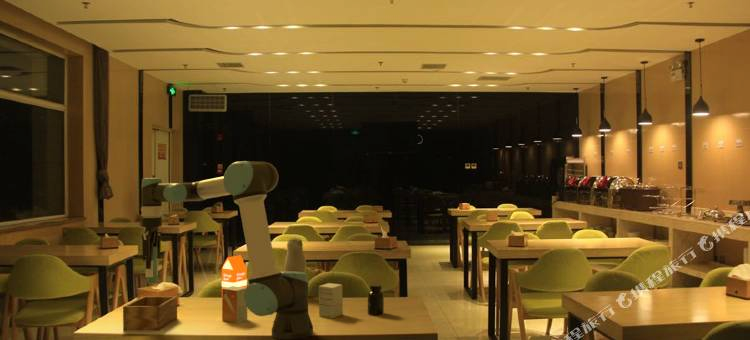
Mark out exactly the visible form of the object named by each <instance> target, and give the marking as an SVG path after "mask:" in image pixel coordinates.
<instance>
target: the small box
mask: <svg viewBox="0 0 750 340" xmlns="http://www.w3.org/2000/svg"><path fill="white" fill-rule="evenodd" d="M245 291H246V288H243V287H235V286H231V287H227V288H223V289H222V288H221V300H222V301H221V302H222V303H221V305H222V306H221V308H222V309H221V310H222V311H221V312H222V313H221V314H222V315H221V318H222V321H226V322H231V323H236V324H238V323H242V322H244V321H247V320H248V307H247V306H246V304H245V300H244V292H245Z"/></svg>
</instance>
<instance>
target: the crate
mask: <svg viewBox="0 0 750 340" xmlns="http://www.w3.org/2000/svg"><path fill="white" fill-rule="evenodd" d="M122 317H123V318H122V330H123V331H161V330H162V329H164V328H165V327H167V326H168V325H170V324H171V323H173V322H174V321H175V320H176V321H177V319H178V296H177V295H175V296H170V295H169V296H153V295H152V296H142V297H140V298H138V299H136V300H134V301H131V302H129V303H127V304H125V305H123V306H122Z"/></svg>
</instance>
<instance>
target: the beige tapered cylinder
mask: <svg viewBox="0 0 750 340" xmlns="http://www.w3.org/2000/svg"><path fill="white" fill-rule="evenodd" d="M286 245H287V246H286V248H287V249H286V254H285V259H284V266H283V267H284V269H283V271H294V272H304V273H306V274H307V261H306V256H305V254H304V249H303V245H304V244H303V241H302V240H301V238H296V237H295V238H294V237H293V238H289V239H288V241H287V244H286Z"/></svg>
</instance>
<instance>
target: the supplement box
mask: <svg viewBox="0 0 750 340" xmlns="http://www.w3.org/2000/svg"><path fill="white" fill-rule="evenodd" d="M343 301H344V299H343V284H339V283H331V282H328V283H325V284H322V285H318V316H319V317H322V318H323V317H324V318H329V319H334V318H336V317H339V316H342V315H343V314H344V313H343V312H344V310H343V309H344V308H343V307H344V305H343Z"/></svg>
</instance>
